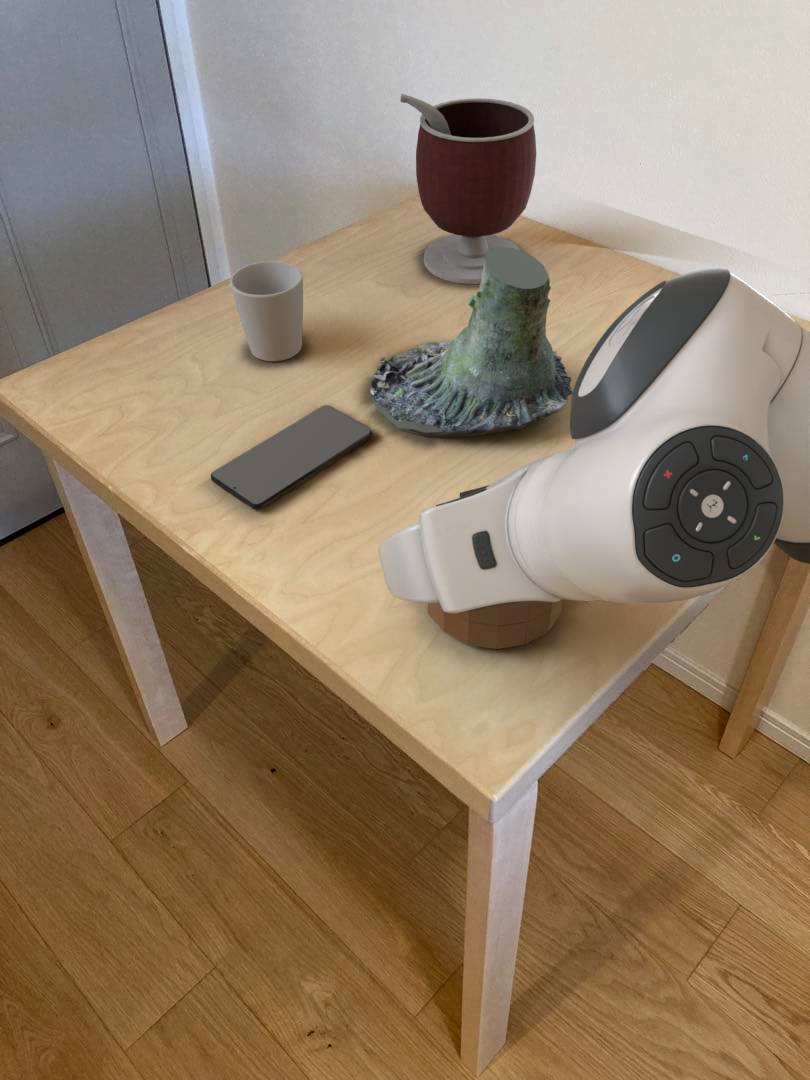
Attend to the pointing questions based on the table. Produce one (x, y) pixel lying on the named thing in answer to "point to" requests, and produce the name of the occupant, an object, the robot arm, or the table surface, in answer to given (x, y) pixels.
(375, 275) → the table surface
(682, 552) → the robot arm
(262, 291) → the cup
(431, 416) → the tree stump
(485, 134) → the mate gourd
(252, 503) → the smartphone
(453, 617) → the bowl
